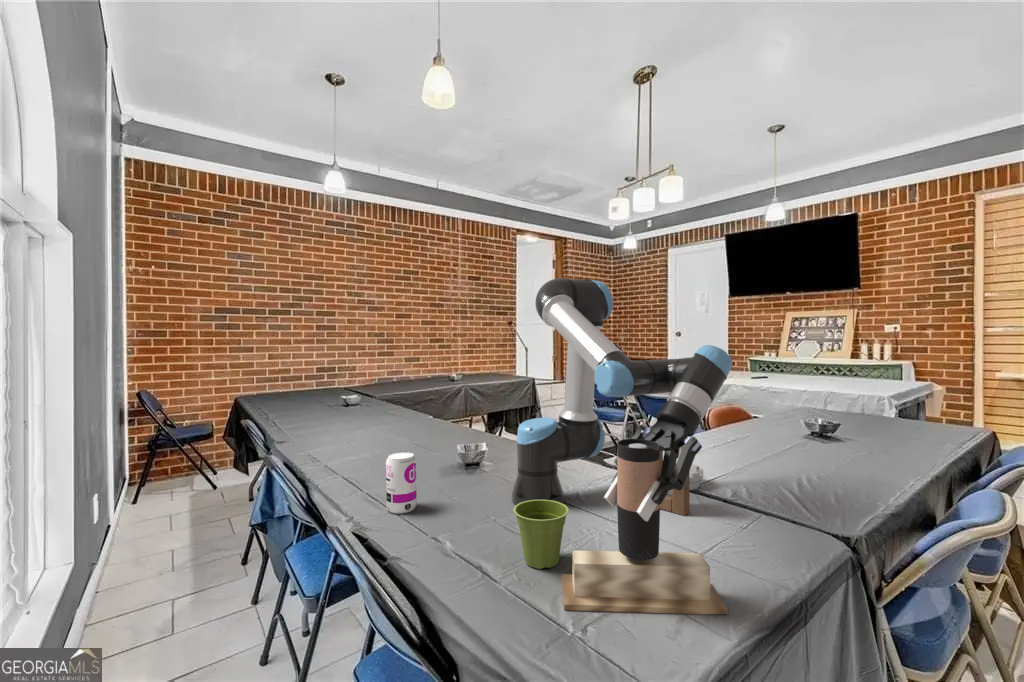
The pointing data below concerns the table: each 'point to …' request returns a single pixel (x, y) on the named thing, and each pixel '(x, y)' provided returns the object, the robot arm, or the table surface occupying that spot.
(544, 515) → the plant pot
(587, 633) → the table surface
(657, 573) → the ridge
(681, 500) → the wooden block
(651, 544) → the travel mug
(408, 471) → the supplement can
